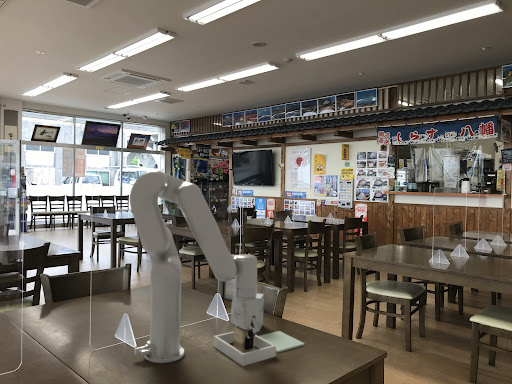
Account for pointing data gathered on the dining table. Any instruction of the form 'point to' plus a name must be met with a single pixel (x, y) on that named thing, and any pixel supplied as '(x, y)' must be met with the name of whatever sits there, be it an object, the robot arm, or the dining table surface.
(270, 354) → the bin
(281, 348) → the mat
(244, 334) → the birch box
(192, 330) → the dining table surface
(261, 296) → the supplement box
